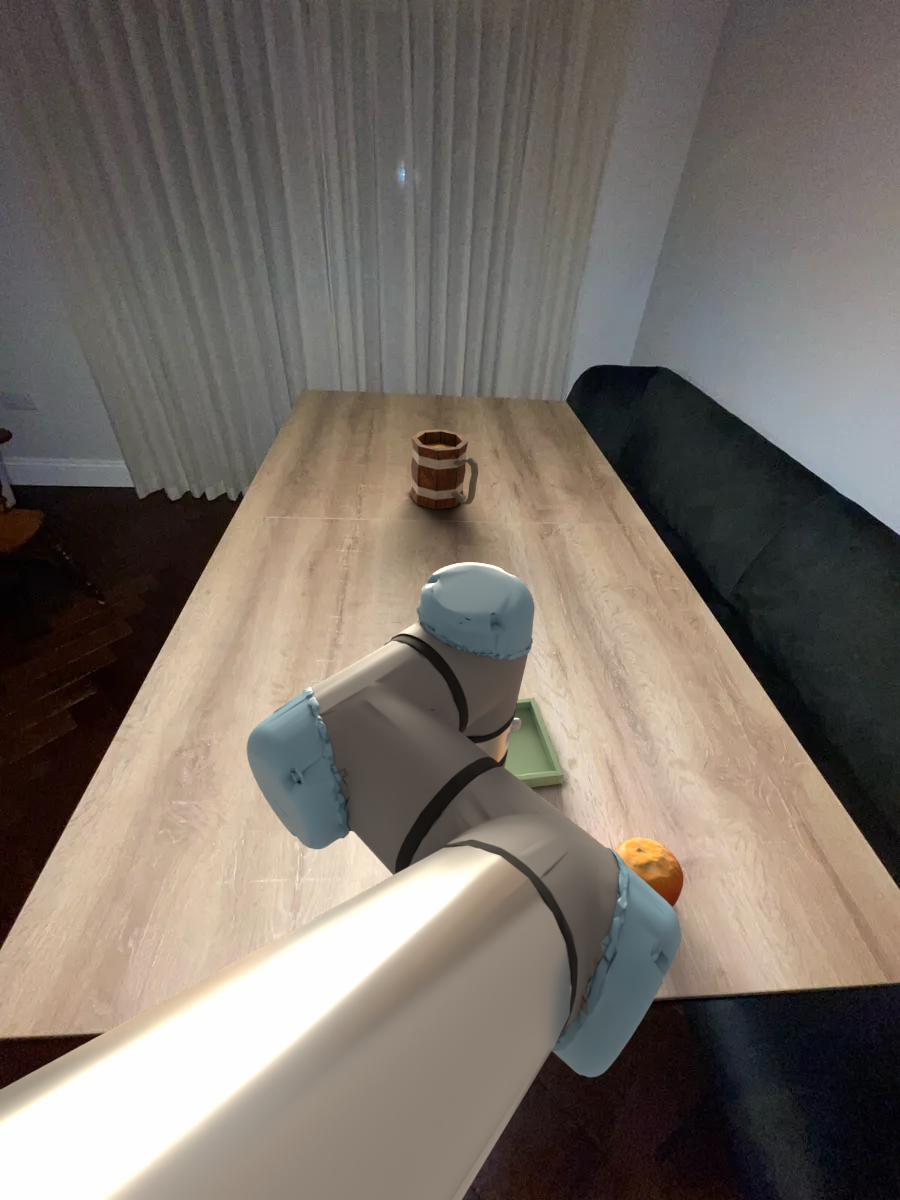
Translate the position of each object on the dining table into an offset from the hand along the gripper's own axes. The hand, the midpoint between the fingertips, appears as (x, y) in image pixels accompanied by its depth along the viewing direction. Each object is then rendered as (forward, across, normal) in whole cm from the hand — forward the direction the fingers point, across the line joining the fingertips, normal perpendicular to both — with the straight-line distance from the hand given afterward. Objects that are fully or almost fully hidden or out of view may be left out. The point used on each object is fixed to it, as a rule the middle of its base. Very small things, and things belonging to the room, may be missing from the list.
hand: (447, 868), depth 57 cm
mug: (+5, +92, +17) cm, 93 cm away
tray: (+5, +20, -3) cm, 21 cm away
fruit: (+5, +5, -22) cm, 23 cm away
